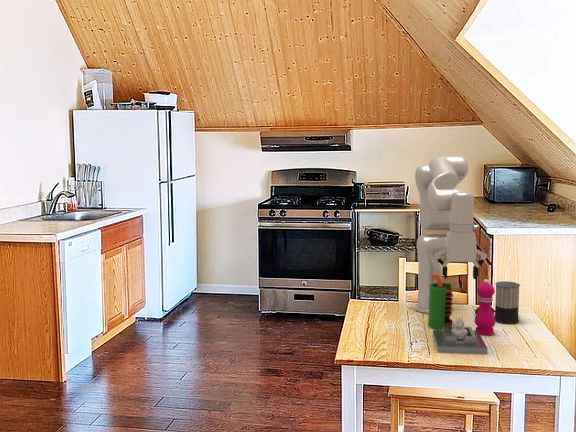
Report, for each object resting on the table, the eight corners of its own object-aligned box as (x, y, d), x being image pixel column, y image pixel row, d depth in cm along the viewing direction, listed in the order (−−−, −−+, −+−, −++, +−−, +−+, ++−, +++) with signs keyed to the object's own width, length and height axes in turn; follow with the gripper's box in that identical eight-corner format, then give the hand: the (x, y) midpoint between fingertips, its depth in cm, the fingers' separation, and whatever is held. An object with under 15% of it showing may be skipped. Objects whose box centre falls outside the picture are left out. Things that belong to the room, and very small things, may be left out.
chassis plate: (432, 335, 228) (432, 323, 227) (478, 337, 225) (478, 324, 225) (437, 352, 210) (437, 339, 209) (487, 354, 208) (487, 340, 207)
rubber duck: (449, 339, 216) (449, 317, 215) (454, 334, 222) (454, 312, 221) (465, 342, 213) (465, 319, 212) (469, 336, 219) (470, 314, 218)
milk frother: (520, 325, 239) (522, 287, 238) (477, 323, 242) (478, 285, 240) (514, 315, 253) (515, 278, 252) (473, 313, 256) (474, 277, 254)
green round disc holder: (453, 330, 233) (454, 277, 231) (428, 329, 235) (429, 276, 232) (451, 323, 243) (453, 271, 240) (427, 321, 245) (429, 271, 242)
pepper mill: (470, 333, 230) (472, 279, 227) (479, 328, 235) (481, 276, 233) (489, 337, 225) (491, 282, 222) (498, 332, 230) (500, 279, 228)
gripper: (485, 227, 215) (484, 276, 218) (434, 226, 218) (433, 275, 220) (489, 230, 208) (488, 281, 210) (436, 229, 210) (435, 280, 212)
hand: (460, 278), depth 215 cm, fingers open, 9 cm apart
